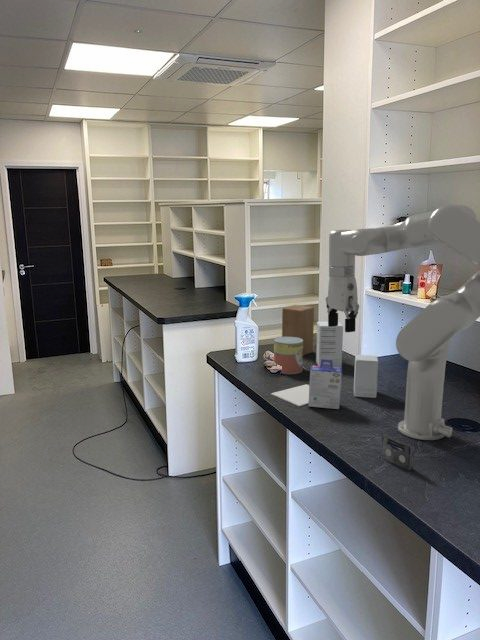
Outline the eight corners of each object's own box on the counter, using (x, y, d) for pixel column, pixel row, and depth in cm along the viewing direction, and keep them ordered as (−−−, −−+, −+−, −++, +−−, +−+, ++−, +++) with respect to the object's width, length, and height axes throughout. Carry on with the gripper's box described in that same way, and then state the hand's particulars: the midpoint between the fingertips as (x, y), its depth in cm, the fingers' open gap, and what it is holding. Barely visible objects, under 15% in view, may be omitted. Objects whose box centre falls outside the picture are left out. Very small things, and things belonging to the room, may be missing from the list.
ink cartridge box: (339, 403, 165) (343, 359, 161) (340, 410, 160) (343, 365, 156) (308, 400, 167) (311, 357, 163) (307, 407, 161) (310, 362, 158)
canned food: (295, 375, 193) (296, 344, 191) (268, 371, 199) (268, 341, 197) (307, 368, 203) (307, 338, 201) (281, 364, 208) (281, 335, 206)
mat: (335, 396, 171) (335, 395, 171) (298, 406, 162) (299, 405, 162) (306, 385, 183) (306, 384, 183) (270, 394, 174) (271, 393, 173)
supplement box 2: (376, 398, 170) (378, 361, 167) (353, 396, 171) (355, 360, 169) (375, 390, 177) (377, 355, 174) (353, 389, 178) (354, 354, 176)
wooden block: (281, 353, 225) (281, 307, 221) (294, 348, 233) (295, 304, 229) (300, 357, 219) (301, 310, 215) (313, 352, 226) (314, 307, 222)
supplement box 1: (342, 367, 203) (343, 326, 200) (318, 367, 203) (319, 326, 200) (337, 361, 213) (339, 321, 209) (315, 361, 213) (316, 321, 209)
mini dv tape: (412, 469, 123) (414, 445, 121) (408, 471, 122) (410, 447, 121) (385, 456, 129) (386, 434, 128) (381, 458, 128) (382, 435, 127)
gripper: (369, 273, 146) (368, 333, 149) (337, 269, 162) (337, 323, 165) (346, 275, 144) (345, 335, 147) (316, 270, 160) (316, 325, 163)
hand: (341, 328), depth 156 cm, fingers open, 9 cm apart
